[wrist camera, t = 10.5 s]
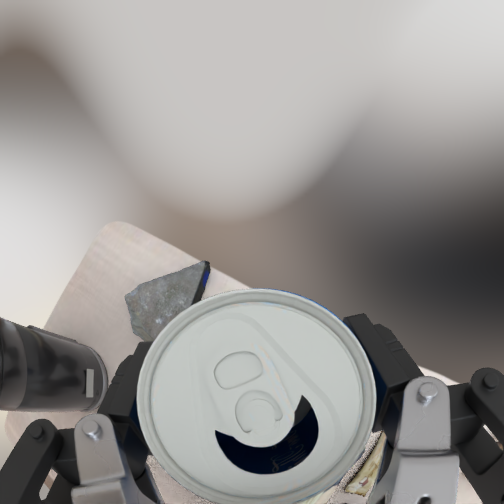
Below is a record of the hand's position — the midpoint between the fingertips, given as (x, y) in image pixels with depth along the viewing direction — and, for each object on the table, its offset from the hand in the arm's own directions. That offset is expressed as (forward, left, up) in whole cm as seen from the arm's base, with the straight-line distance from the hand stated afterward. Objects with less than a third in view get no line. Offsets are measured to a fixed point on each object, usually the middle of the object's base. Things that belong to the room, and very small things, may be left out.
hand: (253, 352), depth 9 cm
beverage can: (+1, -1, -9) cm, 9 cm away
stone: (-14, -1, -23) cm, 27 cm away
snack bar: (+18, -3, -22) cm, 28 cm away
